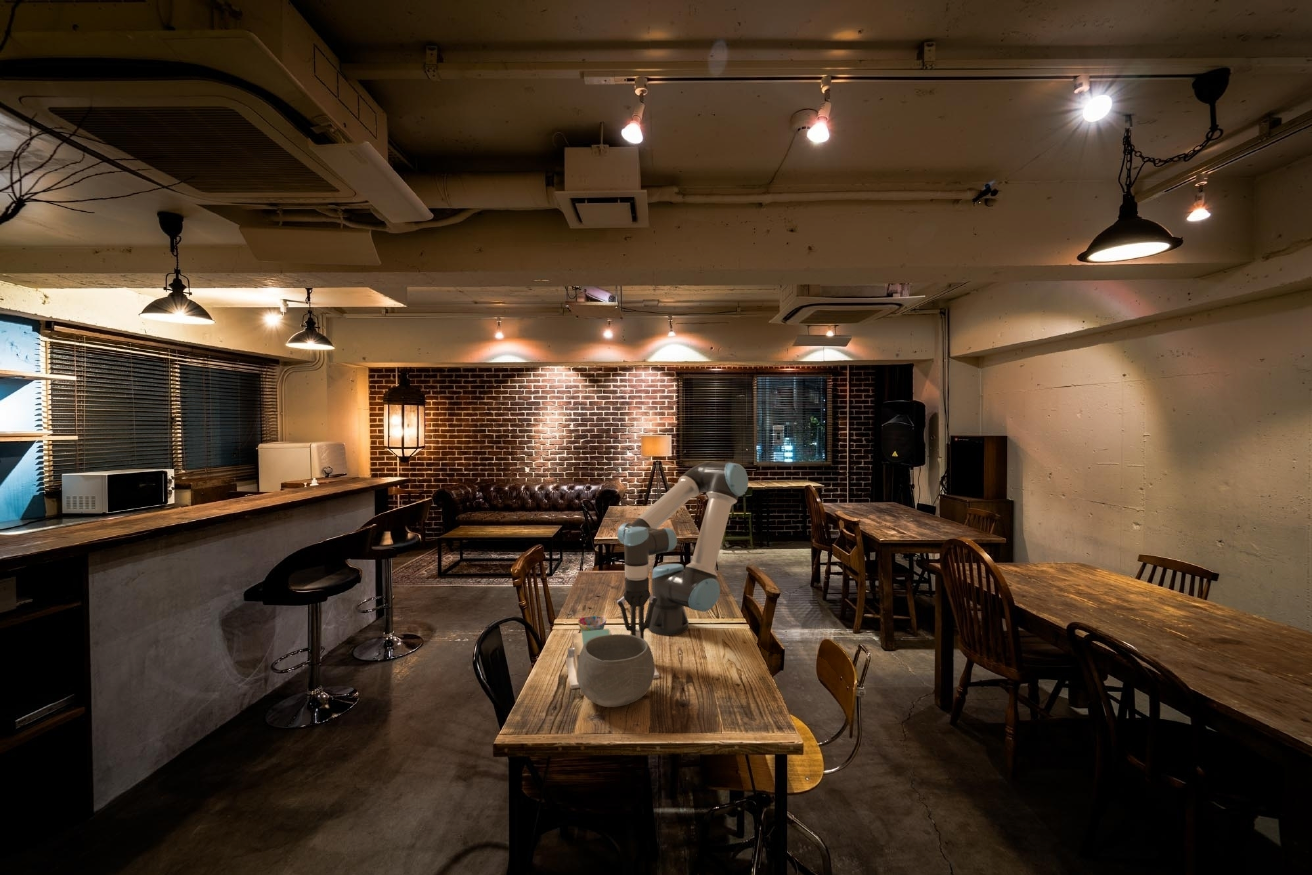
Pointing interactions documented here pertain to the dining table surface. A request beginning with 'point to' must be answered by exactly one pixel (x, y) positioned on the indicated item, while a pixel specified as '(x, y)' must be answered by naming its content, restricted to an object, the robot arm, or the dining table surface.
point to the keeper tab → (593, 634)
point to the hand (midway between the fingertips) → (637, 650)
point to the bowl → (615, 669)
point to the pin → (570, 652)
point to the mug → (591, 623)
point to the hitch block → (573, 662)
